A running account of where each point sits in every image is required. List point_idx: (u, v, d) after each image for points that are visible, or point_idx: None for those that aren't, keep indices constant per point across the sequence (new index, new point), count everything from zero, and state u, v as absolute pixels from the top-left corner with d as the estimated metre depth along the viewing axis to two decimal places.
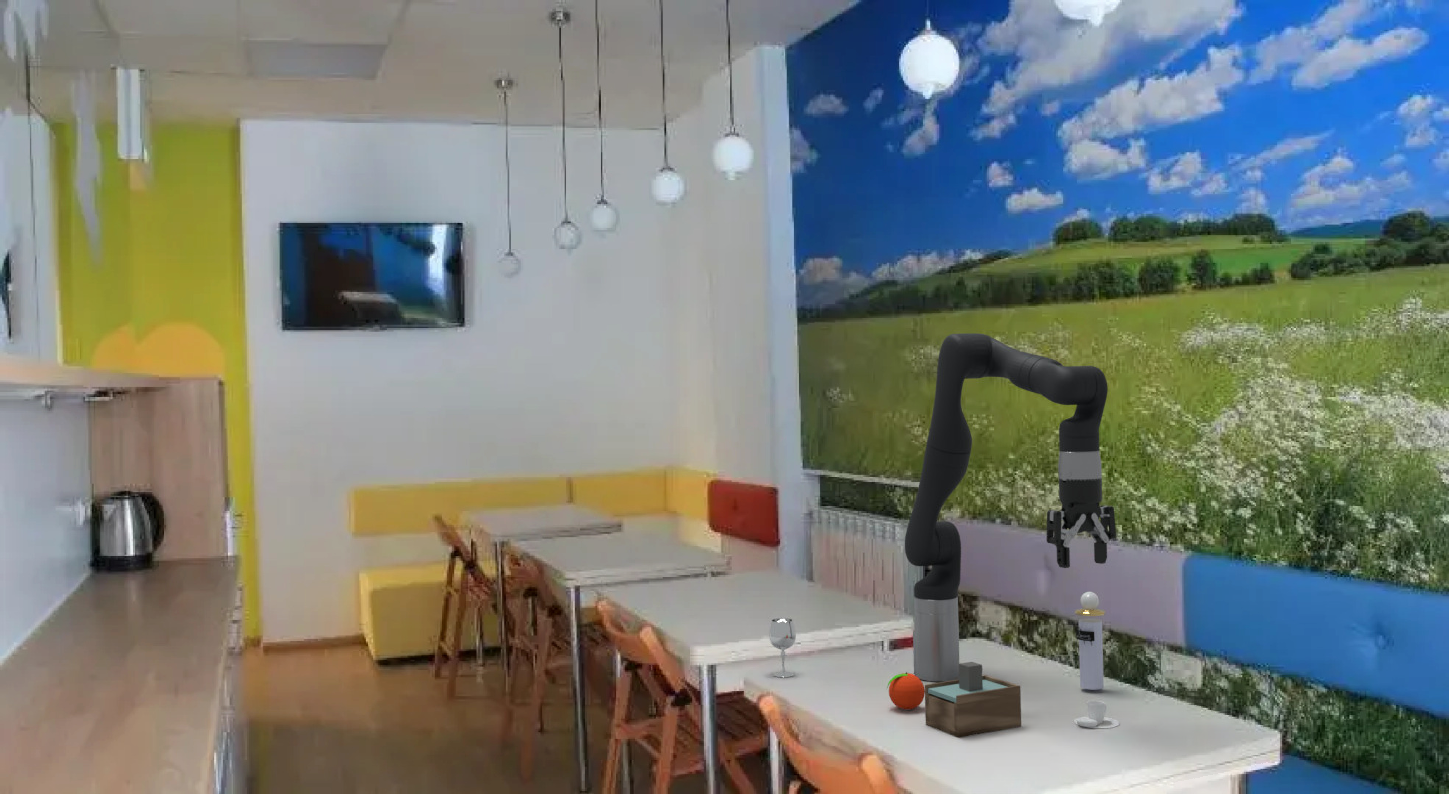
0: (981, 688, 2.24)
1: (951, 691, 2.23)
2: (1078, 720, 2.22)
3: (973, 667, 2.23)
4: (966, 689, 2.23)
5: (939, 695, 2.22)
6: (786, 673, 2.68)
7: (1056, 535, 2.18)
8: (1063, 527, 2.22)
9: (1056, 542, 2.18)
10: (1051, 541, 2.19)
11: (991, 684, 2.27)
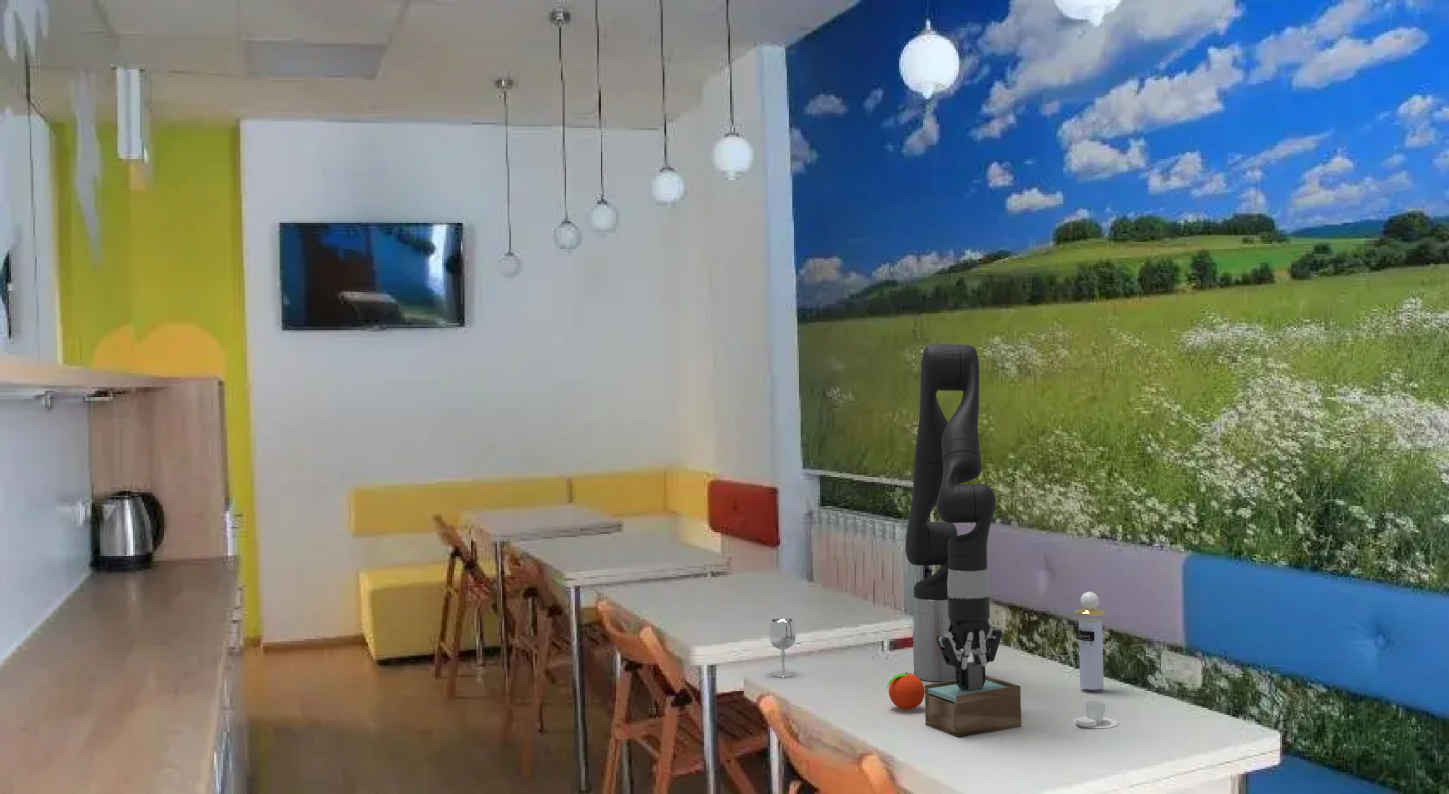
0: (981, 688, 2.24)
1: (951, 691, 2.23)
2: (1077, 720, 2.22)
3: (973, 667, 2.23)
4: (966, 689, 2.23)
5: (939, 695, 2.22)
6: (786, 673, 2.68)
7: (952, 660, 2.21)
8: (956, 647, 2.25)
9: (954, 665, 2.22)
10: (950, 665, 2.23)
11: (991, 684, 2.27)
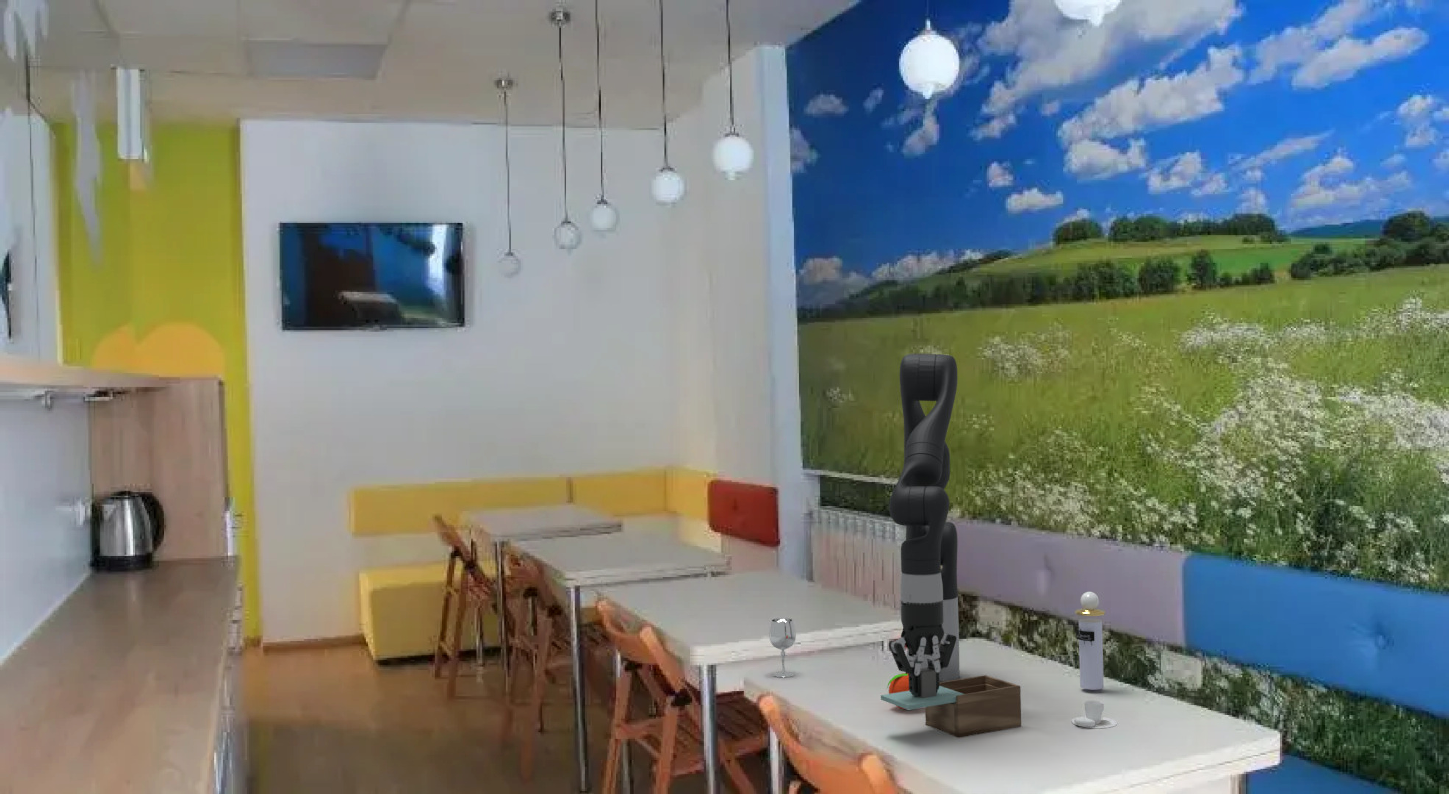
0: (935, 695, 2.19)
1: (904, 698, 2.18)
2: (1076, 720, 2.22)
3: (926, 673, 2.18)
4: (919, 696, 2.19)
5: (891, 702, 2.18)
6: (786, 673, 2.68)
7: (904, 666, 2.17)
8: (910, 652, 2.20)
9: (906, 671, 2.17)
10: (903, 671, 2.18)
11: (945, 690, 2.23)
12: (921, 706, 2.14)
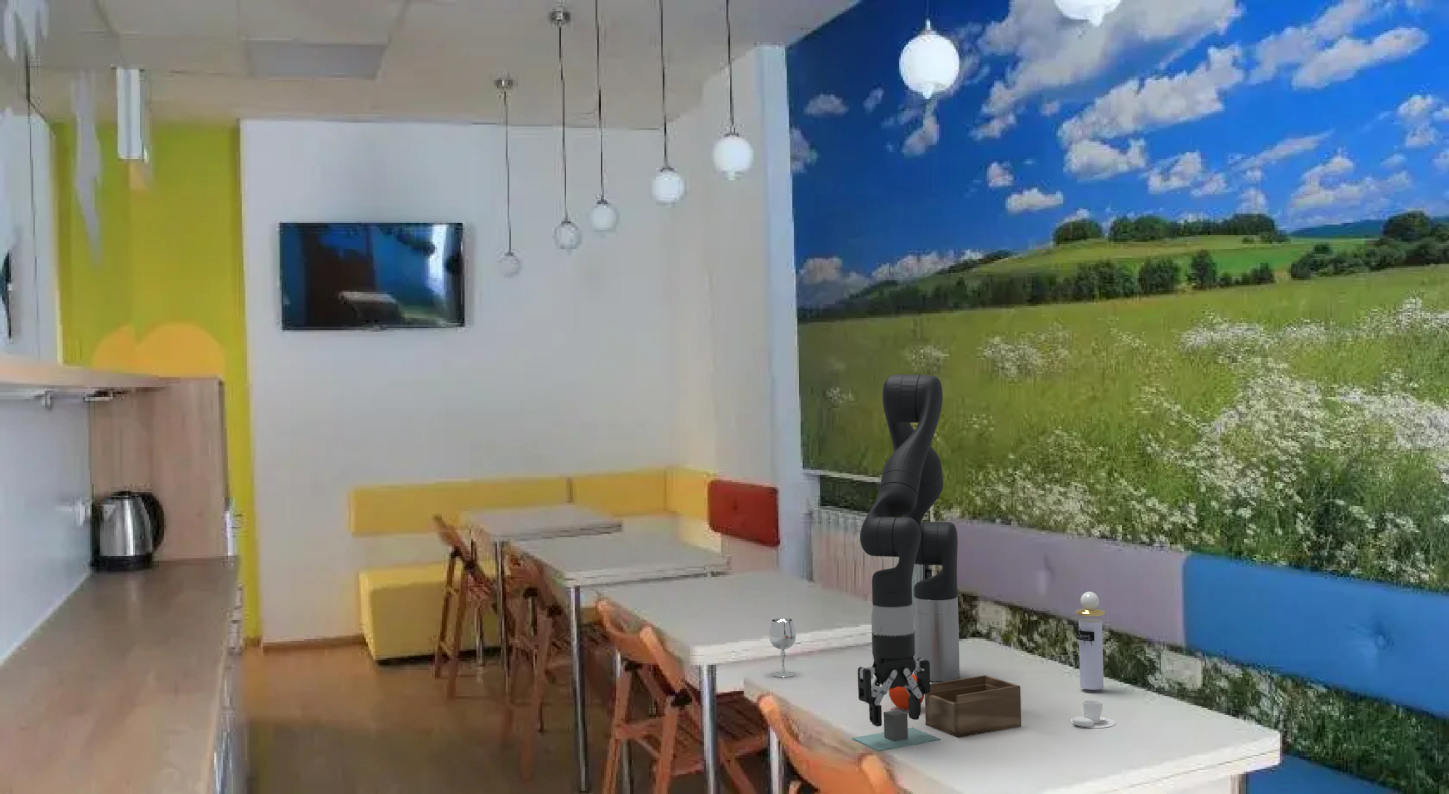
0: (906, 738, 2.16)
1: (875, 741, 2.16)
2: (1074, 719, 2.22)
3: (898, 716, 2.16)
4: (891, 739, 2.16)
5: None
6: (786, 673, 2.68)
7: (866, 694, 2.13)
8: (876, 683, 2.17)
9: (866, 701, 2.13)
10: (862, 700, 2.14)
11: (918, 733, 2.20)
12: None
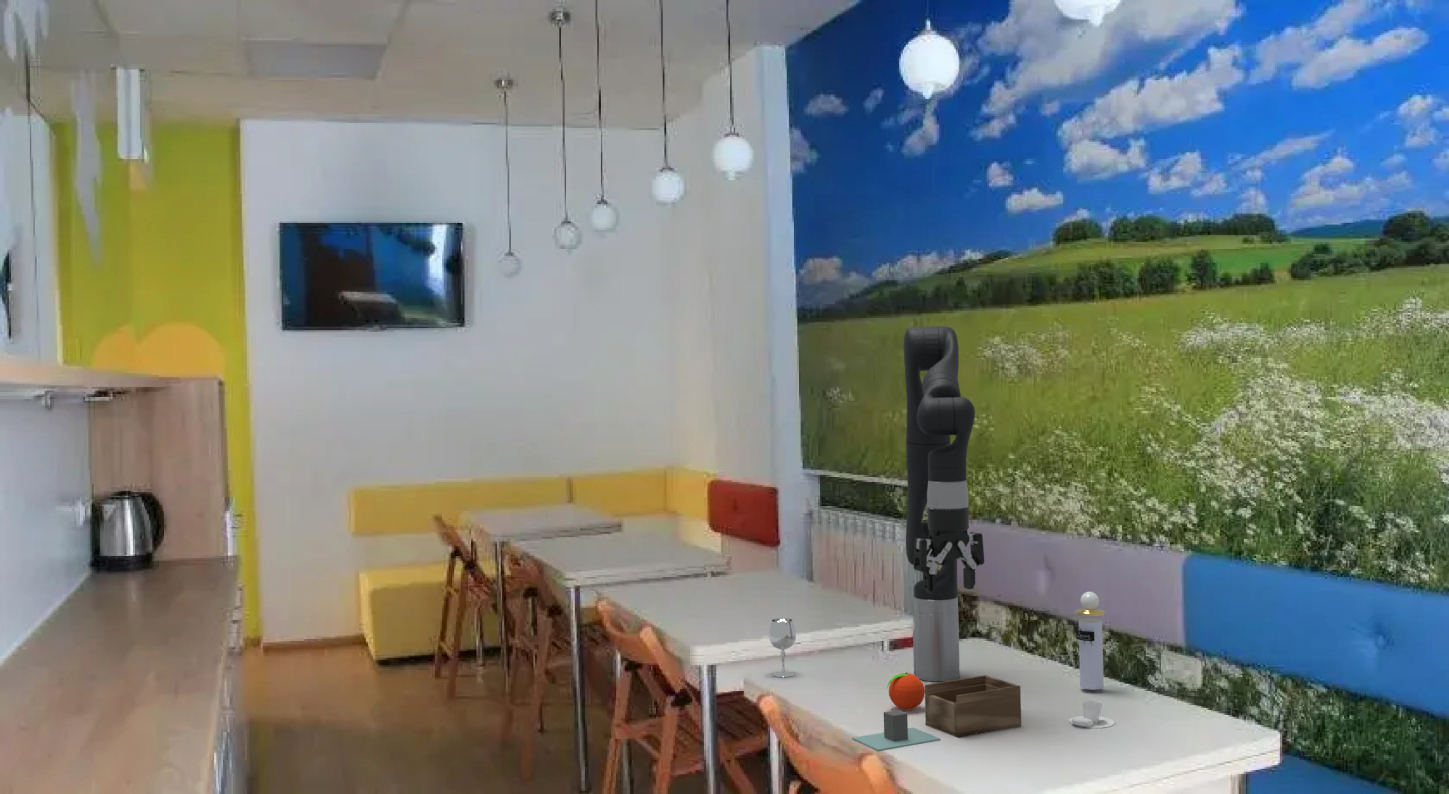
0: (906, 738, 2.16)
1: (875, 741, 2.16)
2: (1073, 719, 2.22)
3: (898, 716, 2.16)
4: (890, 739, 2.16)
5: None
6: (786, 673, 2.68)
7: (921, 563, 2.24)
8: (931, 554, 2.28)
9: (921, 570, 2.25)
10: (917, 568, 2.26)
11: (918, 733, 2.20)
12: None
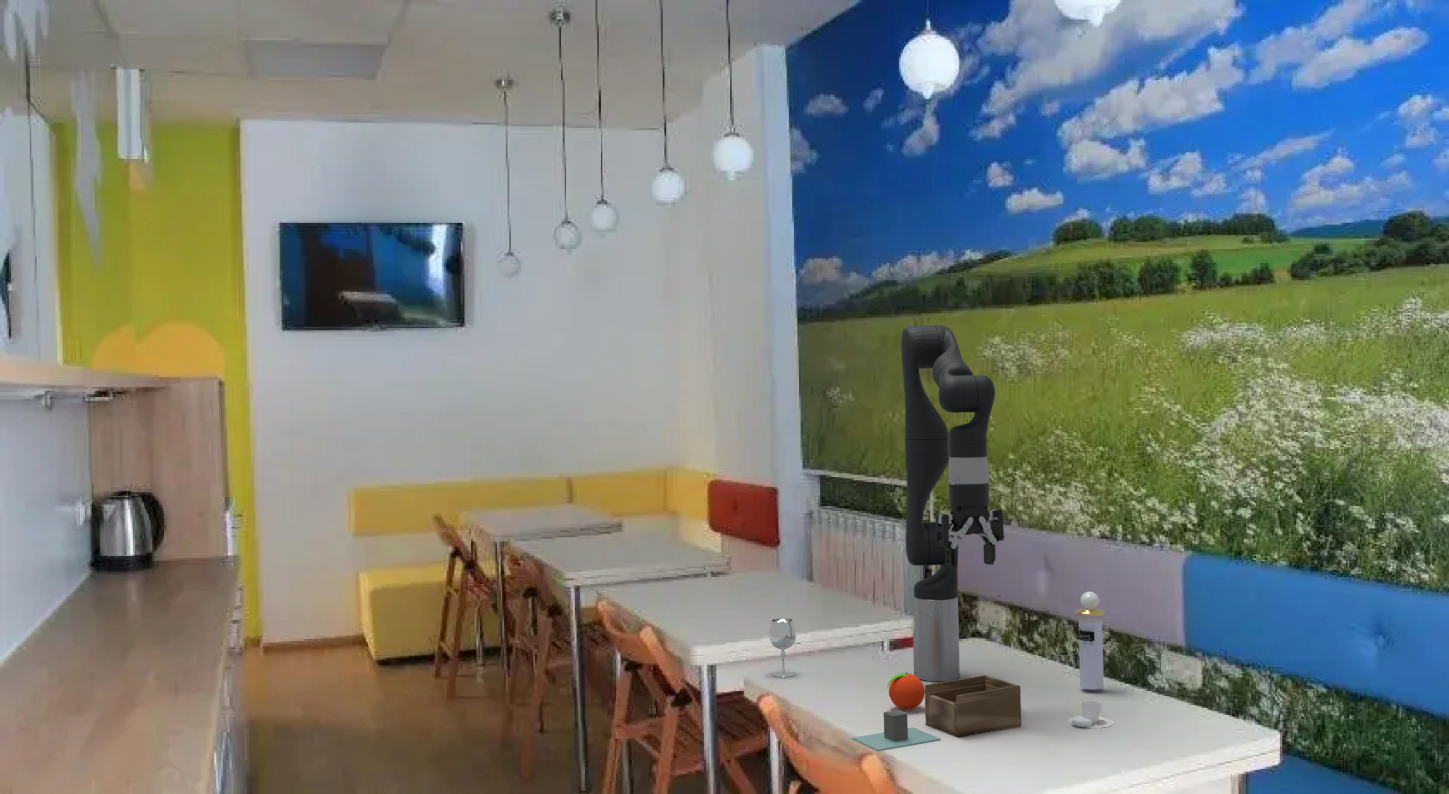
0: (906, 738, 2.16)
1: (875, 741, 2.16)
2: (1073, 720, 2.22)
3: (897, 716, 2.16)
4: (890, 739, 2.16)
5: None
6: (786, 673, 2.68)
7: (943, 537, 2.28)
8: (952, 529, 2.32)
9: (944, 544, 2.28)
10: (939, 543, 2.29)
11: (918, 733, 2.20)
12: None
